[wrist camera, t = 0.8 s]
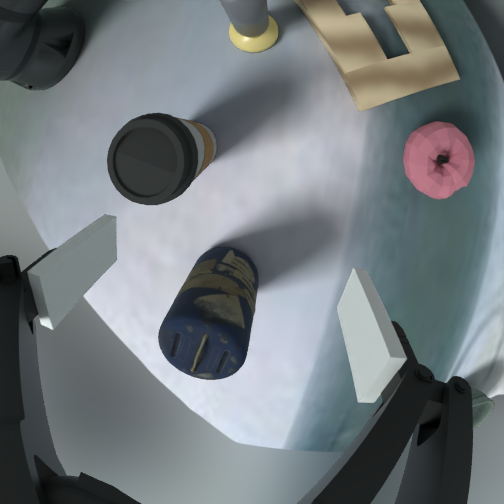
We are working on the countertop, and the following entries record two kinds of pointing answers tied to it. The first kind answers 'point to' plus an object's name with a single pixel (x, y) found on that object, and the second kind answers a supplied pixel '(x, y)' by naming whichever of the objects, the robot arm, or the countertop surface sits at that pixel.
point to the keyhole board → (372, 56)
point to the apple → (438, 159)
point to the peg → (251, 25)
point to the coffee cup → (158, 157)
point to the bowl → (480, 407)
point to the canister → (212, 316)
